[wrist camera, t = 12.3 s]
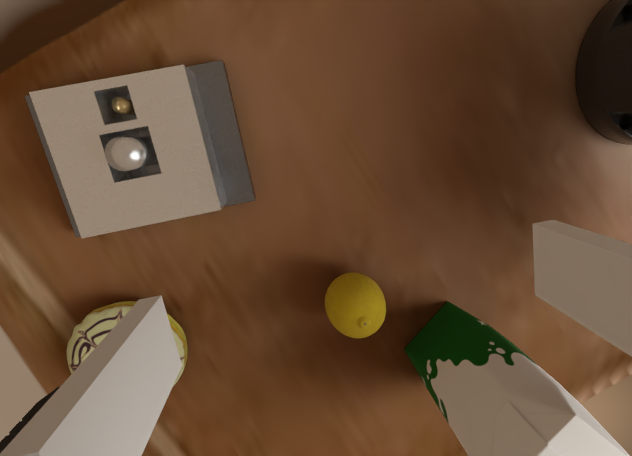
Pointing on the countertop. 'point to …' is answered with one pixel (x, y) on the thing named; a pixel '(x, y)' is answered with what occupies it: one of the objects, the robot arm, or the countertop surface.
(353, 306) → the lemon
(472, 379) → the milk carton
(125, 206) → the white boxy piece
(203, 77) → the fixture
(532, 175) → the countertop surface
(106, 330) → the decorated donut
